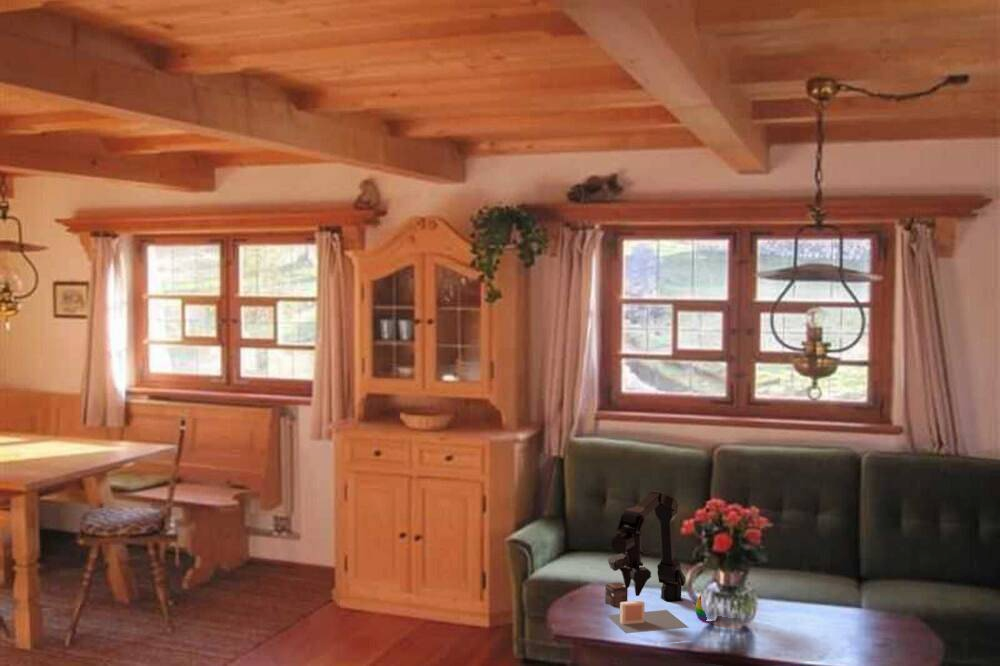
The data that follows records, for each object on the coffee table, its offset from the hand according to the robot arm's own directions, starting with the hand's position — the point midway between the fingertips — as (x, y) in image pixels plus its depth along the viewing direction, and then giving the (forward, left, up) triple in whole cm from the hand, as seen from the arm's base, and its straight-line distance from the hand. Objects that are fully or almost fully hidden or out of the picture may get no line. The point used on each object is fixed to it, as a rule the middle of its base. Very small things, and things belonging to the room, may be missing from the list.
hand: (632, 591), depth 333 cm
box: (-2, -20, -12) cm, 23 cm away
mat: (-6, 0, -11) cm, 13 cm away
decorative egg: (-27, +3, -12) cm, 30 cm away
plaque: (0, 0, -11) cm, 11 cm away
